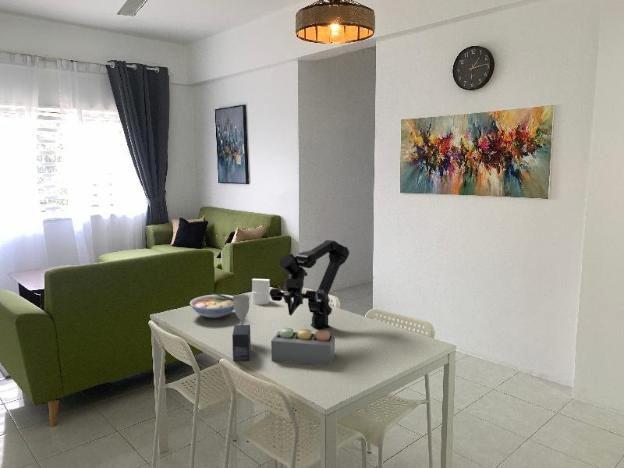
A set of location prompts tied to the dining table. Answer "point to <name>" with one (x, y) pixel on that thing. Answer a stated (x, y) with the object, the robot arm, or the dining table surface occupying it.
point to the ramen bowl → (213, 305)
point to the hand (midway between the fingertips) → (290, 314)
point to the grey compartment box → (303, 350)
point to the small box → (241, 343)
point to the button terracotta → (323, 336)
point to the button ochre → (304, 334)
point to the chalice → (241, 306)
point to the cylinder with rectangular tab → (260, 291)
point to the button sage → (286, 333)
